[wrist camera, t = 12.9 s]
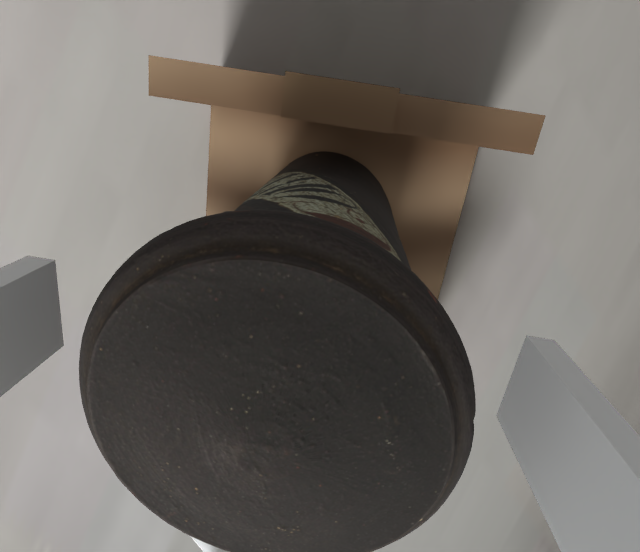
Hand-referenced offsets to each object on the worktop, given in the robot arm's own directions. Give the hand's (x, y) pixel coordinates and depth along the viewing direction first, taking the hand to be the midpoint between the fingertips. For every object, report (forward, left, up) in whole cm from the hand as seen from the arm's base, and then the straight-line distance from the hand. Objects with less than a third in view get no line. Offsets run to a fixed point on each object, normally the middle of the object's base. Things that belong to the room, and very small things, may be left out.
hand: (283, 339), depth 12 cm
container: (0, 0, -16) cm, 16 cm away
